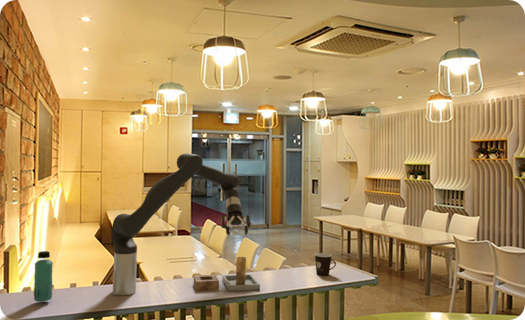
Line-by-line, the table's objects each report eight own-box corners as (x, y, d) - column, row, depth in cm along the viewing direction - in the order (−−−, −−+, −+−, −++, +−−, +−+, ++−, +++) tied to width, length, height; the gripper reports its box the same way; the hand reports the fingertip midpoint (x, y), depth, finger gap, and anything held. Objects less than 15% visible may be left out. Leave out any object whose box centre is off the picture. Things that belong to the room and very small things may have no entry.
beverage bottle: (55, 300, 170) (56, 250, 170) (47, 306, 163) (48, 253, 163) (38, 299, 170) (39, 249, 170) (29, 305, 163) (31, 253, 163)
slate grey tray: (229, 291, 188) (229, 285, 188) (222, 280, 204) (222, 275, 204) (259, 290, 191) (260, 284, 191) (250, 279, 208) (250, 274, 208)
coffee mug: (311, 272, 224) (312, 253, 224) (326, 271, 226) (327, 252, 226) (321, 278, 213) (321, 258, 213) (336, 277, 215) (337, 257, 215)
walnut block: (196, 290, 187) (196, 281, 187) (193, 284, 197) (193, 275, 197) (218, 289, 190) (218, 280, 190) (215, 283, 200) (215, 274, 200)
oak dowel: (236, 285, 195) (237, 259, 195) (234, 282, 199) (235, 256, 199) (246, 285, 196) (247, 258, 196) (244, 282, 200) (244, 256, 200)
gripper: (220, 203, 214) (224, 229, 203) (248, 203, 218) (253, 229, 207) (218, 212, 219) (221, 238, 208) (245, 212, 223) (250, 238, 212)
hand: (237, 234), depth 207 cm, fingers open, 8 cm apart
